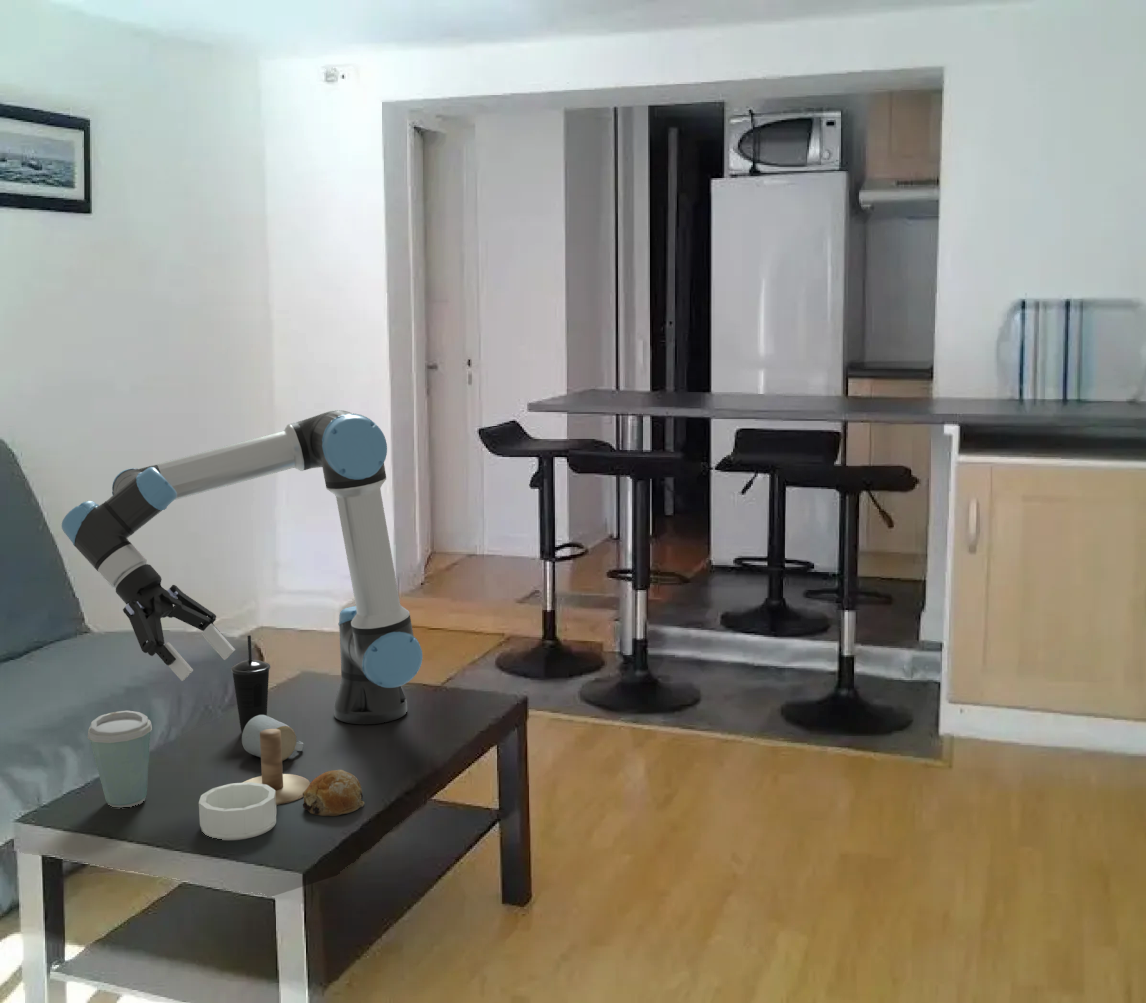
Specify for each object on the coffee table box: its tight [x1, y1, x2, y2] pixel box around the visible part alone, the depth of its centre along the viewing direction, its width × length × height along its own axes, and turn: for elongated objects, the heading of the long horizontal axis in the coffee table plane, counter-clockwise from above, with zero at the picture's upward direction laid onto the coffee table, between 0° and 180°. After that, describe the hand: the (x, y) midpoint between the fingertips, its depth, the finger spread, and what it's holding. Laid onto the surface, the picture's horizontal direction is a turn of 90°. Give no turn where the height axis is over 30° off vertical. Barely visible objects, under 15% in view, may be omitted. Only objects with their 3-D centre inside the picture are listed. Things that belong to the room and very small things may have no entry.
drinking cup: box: [230, 635, 271, 735], centre depth 254 cm, size 8×8×20 cm
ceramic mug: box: [241, 715, 304, 762], centre depth 242 cm, size 11×8×8 cm
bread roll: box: [302, 769, 365, 817], centre depth 218 cm, size 10×10×8 cm
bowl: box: [198, 782, 277, 841], centre depth 210 cm, size 12×12×5 cm
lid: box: [241, 729, 311, 806], centre depth 224 cm, size 13×13×11 cm
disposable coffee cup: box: [87, 709, 153, 808], centre depth 219 cm, size 11×11×15 cm
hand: (209, 665), depth 224 cm, fingers open, 13 cm apart
